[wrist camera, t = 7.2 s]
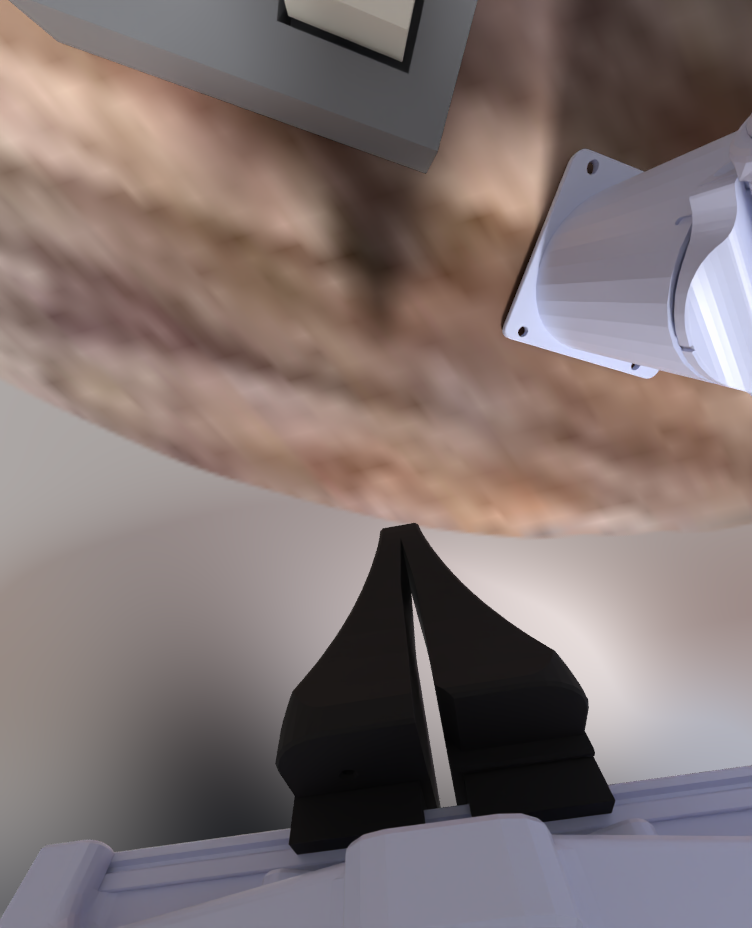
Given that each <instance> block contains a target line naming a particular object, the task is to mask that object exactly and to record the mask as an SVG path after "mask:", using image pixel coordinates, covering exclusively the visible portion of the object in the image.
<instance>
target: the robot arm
mask: <svg viewBox="0 0 752 928" xmlns="http://www.w3.org/2000/svg"><path fill="white" fill-rule="evenodd" d="M588 163H592V164H593V172H592V174H591V175H590V174H589V173H587V165H588ZM522 326H523V327H524V329H525V332H524V334H523V335H521V336H519V335H518V330H519V329H520V328H521V327H522ZM503 334H504V336H505V337H507V338H509V339H512V340H516V341H519V342H523V343H526V344H530V345H533V346H536V347H540V348H543V349H547V350H550V351H553V352H557V353H560V354H564V355H567V356H570V357H574V358H577V359H581V360H584V361H587V362H591V363H594V364H598V365H601V366H605V367H608V368H611V369H615V370H618V371H622V372H625V373H628V374H632V375H635V376H639V377H642V378H647V379H649V378H652V377H653V376H655V375H656V374H657V372H658V371H659V370H662V371H666V372H670V373H674V374H678V375H682V376H686V377H690V378H694V379H698V380H702V381H706V382H710V383H715V384H719V385H722V386H726V387H730V388H734V389H738V390H742V391H746V392H747V393H749V394H750V395H751V396H752V113H751V115H750V116H749V117H748V118H747V120H746V121H745V122H744V123H743V124H742V125H741V127H740V128H739V130H738V131H736V132H733V133H731V134H729V135H727V136H724V137H722V138H720V139H718V140H715V141H713V142H711V143H708V144H706V145H704V146H702V147H699V148H697V149H695V150H693V151H690V152H688V153H686V154H683V155H681V156H679V157H677V158H674V159H672V160H670V161H668V162H665V163H663V164H661V165H658V166H656V167H654V168H652V169H649V170H647V171H645V172H644V171H642V170H639V169H637V168H634V167H632V166H629V165H627V164H624V163H622V162H619V161H617V160H614V159H612V158H609V157H607V156H604V155H602V154H599V153H597V152H594V151H592V150H589V149H582V150H579V151H578V152H576V153H575V154H574V155H573V156H572V157H571V158H570V160H569V162H568V164H567V167H566V170H565V172H564V175H563V177H562V180H561V182H560V185H559V187H558V190H557V192H556V195H555V197H554V200H553V202H552V205H551V207H550V210H549V212H548V215H547V217H546V220H545V222H544V225H543V227H542V230H541V232H540V235H539V237H538V240H537V242H536V245H535V248H534V250H533V253H532V255H531V258H530V260H529V263H528V265H527V268H526V270H525V273H524V275H523V278H522V280H521V283H520V285H519V288H518V290H517V293H516V295H515V298H514V300H513V303H512V305H511V308H510V310H509V313H508V315H507V318H506V320H505V323H504V326H503ZM632 363H633V364H635V366H634V367H633V368H631V365H632ZM411 593H412V596H413V600H414V604H415V607H416V611H417V615H418V618H419V622H420V625H421V629H422V633H423V636H424V640H425V643H426V647H427V651H428V655H429V660H430V664H431V670H432V675H433V680H434V685H435V691H436V696H437V701H438V707H439V712H440V717H441V723H442V728H443V733H444V739H445V744H446V749H447V755H448V760H449V765H450V770H451V776H452V780H453V786H454V792H455V797H456V802H457V806H451V807H443V808H441V807H440V801H439V796H438V789H437V783H436V777H435V771H434V765H433V759H432V753H431V747H430V741H429V735H428V728H427V722H426V716H425V711H424V704H423V698H422V691H421V685H420V679H419V673H418V667H417V660H416V650H415V637H414V623H413V609H412V596H411ZM588 708H589V706H588V698H587V697H586V695H585V693H584V691H583V689H582V687H581V686H580V684H579V682H578V681H577V680H576V678H575V677H574V675H573V674H572V673H571V671H570V670H569V668H568V667H567V666H566V664H565V663H564V662H563V660H562V659H561V658H560V657H559V655H558V654H557V653H556V652H555V651H554V650H552V649H550V648H549V647H547V646H546V645H544V644H542V643H541V642H539V641H537V640H536V639H534V638H532V637H531V636H529V635H528V634H526V633H525V632H523V631H522V630H520V629H519V628H517V627H516V626H514V625H513V624H511V623H510V622H508V621H507V620H506V619H505V618H503V617H502V616H501V615H499V614H498V613H497V612H495V611H494V610H493V609H492V608H490V607H489V606H488V605H486V604H485V603H484V602H483V601H482V600H480V599H479V598H478V597H477V596H476V595H475V594H473V593H472V592H471V591H470V590H469V589H468V588H467V587H466V586H465V585H464V584H463V583H462V582H461V581H460V580H459V579H458V578H457V577H456V576H455V575H454V574H453V573H452V572H451V571H450V569H449V568H448V567H447V566H446V565H445V564H444V563H443V561H442V560H441V559H440V558H439V557H438V555H437V554H436V553H435V552H434V550H433V549H432V547H431V546H430V545H429V543H428V541H427V540H426V539H425V537H424V535H423V534H422V532H421V530H420V528H419V525H418V524H416V523H411V524H406V525H400V526H395V527H389V528H383V529H382V530H381V531H380V538H379V543H378V547H377V551H376V554H375V557H374V560H373V564H372V567H371V569H370V572H369V575H368V577H367V579H366V582H365V584H364V586H363V589H362V591H361V593H360V596H359V597H358V599H357V601H356V603H355V606H354V607H353V609H352V611H351V613H350V615H349V616H348V618H347V619H346V621H345V623H344V625H343V626H342V628H341V629H340V631H339V633H338V634H337V636H336V637H335V639H334V640H333V641H332V643H331V644H330V645H329V647H328V648H327V650H326V651H325V653H324V654H323V655H322V657H321V658H320V659H319V661H318V662H317V663H316V664H315V666H314V667H313V668H312V669H311V670H310V672H309V673H308V674H307V675H306V676H305V678H304V679H303V680H302V681H301V682H300V683H299V685H298V686H297V687H296V688H295V689H294V690H293V692H292V694H291V697H290V701H289V704H288V707H287V710H286V713H285V717H284V720H283V724H282V728H281V733H280V740H279V745H278V751H277V757H276V766H277V769H278V771H279V773H280V774H281V776H282V777H283V779H284V780H285V782H286V783H287V785H288V786H289V788H290V789H291V791H292V792H293V794H294V795H295V800H294V807H293V815H292V822H291V828H289V829H282V830H275V831H268V832H260V833H253V834H245V835H238V836H231V837H223V838H216V839H209V840H201V841H195V842H187V843H180V844H172V845H165V846H158V847H150V848H143V849H136V850H128V851H121V852H113V850H112V848H111V847H109V846H108V845H107V844H105V843H103V842H101V841H97V840H79V841H73V842H65V843H58V844H51V845H46V846H45V847H43V848H41V850H40V852H39V853H38V855H37V857H36V859H35V860H34V862H33V864H32V865H31V867H30V869H29V871H28V872H27V874H26V876H25V878H24V879H23V881H22V883H21V884H20V886H19V888H18V890H17V891H16V893H15V895H14V897H13V899H12V900H11V902H10V904H9V905H8V907H7V909H6V910H5V912H4V914H3V916H2V917H1V919H0V928H752V765H751V766H744V767H736V768H730V769H722V770H715V771H707V772H699V773H692V774H685V775H677V776H671V777H664V778H656V779H648V780H641V781H634V782H626V783H619V784H612V785H608V784H607V783H606V781H605V779H604V777H603V775H602V773H601V771H600V769H599V767H598V765H597V763H596V761H595V759H594V757H593V756H594V755H595V752H594V748H593V746H592V744H591V742H590V740H589V738H588V736H587V735H586V733H585V726H586V720H587V714H588Z"/></svg>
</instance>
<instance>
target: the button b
mask: <svg viewBox="0 0 752 928" xmlns="http://www.w3.org/2000/svg"><path fill="white" fill-rule="evenodd" d="M284 1H285V5H286V9H287V13H288V16H290V17H292V18H295V19H297V20H299V21H302V22H304V23H307V24H309V25H312V26H314V27H317V28H319V29H322V30H324V31H327V32H329V33H331V34H334V35H336V36H339V37H341V38H344V39H346V40H349V41H351V42H354V43H356V44H359V45H361V46H363V47H366V48H368V49H371V50H373V51H376V52H378V53H381V54H383V55H386V56H388V57H391V58H393V59H395V60H398V61H400V62H402V61H403V56H404V51H405V47H406V42H407V37H408V32H409V27H410V23H411V18H412V13H413V8H414V4H415V0H284Z"/></svg>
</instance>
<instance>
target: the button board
mask: <svg viewBox="0 0 752 928" xmlns="http://www.w3.org/2000/svg"><path fill="white" fill-rule="evenodd" d="M9 1H10V2H11V3H12V4H14V5H15V6H16V7H17V8H18V9H20V10H21V11H22V12H23V13H24V14H26V15H27V16H28V17H29V18H30V19H32V20H33V21H34V22H35V23H36V24H37V25H39V26H40V27H41V28H42V29H43V30H45V31H46V32H47V33H48V34H49V35H51V36H52V37H53V38H54V39H55V40H57V41H58V42H61V43H63V44H66V45H69V46H72V47H74V48H77V49H80V50H83V51H86V52H88V53H91V54H94V55H97V56H100V57H102V58H105V59H108V60H111V61H113V62H116V63H119V64H122V65H125V66H127V67H130V68H133V69H136V70H139V71H141V72H144V73H147V74H150V75H153V76H155V77H158V78H161V79H164V80H166V81H169V82H172V83H175V84H178V85H180V86H183V87H186V88H189V89H192V90H194V91H197V92H200V93H203V94H205V95H208V96H211V97H214V98H217V99H219V100H222V101H225V102H228V103H231V104H233V105H236V106H239V107H242V108H244V109H247V110H250V111H253V112H256V113H258V114H261V115H264V116H267V117H270V118H272V119H275V120H278V121H281V122H284V123H286V124H289V125H292V126H295V127H297V128H300V129H303V130H306V131H309V132H311V133H314V134H317V135H320V136H323V137H325V138H328V139H331V140H334V141H336V142H339V143H342V144H345V145H348V146H350V147H353V148H356V149H359V150H362V151H364V152H367V153H370V154H373V155H375V156H378V157H381V158H384V159H387V160H389V161H392V162H395V163H398V164H401V165H403V166H406V167H409V168H412V169H415V170H417V171H420V172H423V173H427V171H428V169H429V167H430V165H431V163H432V161H433V159H434V158H435V156H436V154H437V152H438V149H439V145H440V141H441V137H442V133H443V130H444V126H445V122H446V118H447V114H448V111H449V107H450V103H451V99H452V95H453V92H454V88H455V84H456V80H457V76H458V73H459V69H460V65H461V61H462V57H463V54H464V50H465V46H466V42H467V38H468V35H469V31H470V27H471V23H472V19H473V16H474V12H475V8H476V4H477V0H415V4H414V8H413V13H412V18H411V23H410V27H409V32H408V37H407V42H406V47H405V51H404V56H403V61H402V62H400V61H398V60H395V59H393V58H391V57H388V56H386V55H383V54H381V53H378V52H376V51H373V50H371V49H368V48H366V47H363V46H361V45H359V44H356V43H354V42H351V41H349V40H346V39H344V38H341V37H339V36H336V35H334V34H331V33H329V32H327V31H324V30H322V29H319V28H317V27H314V26H312V25H309V24H307V23H304V22H302V21H299V20H297V19H295V18H292V17H290V16H288V13H287V9H286V5H285V1H284V0H9Z"/></svg>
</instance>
